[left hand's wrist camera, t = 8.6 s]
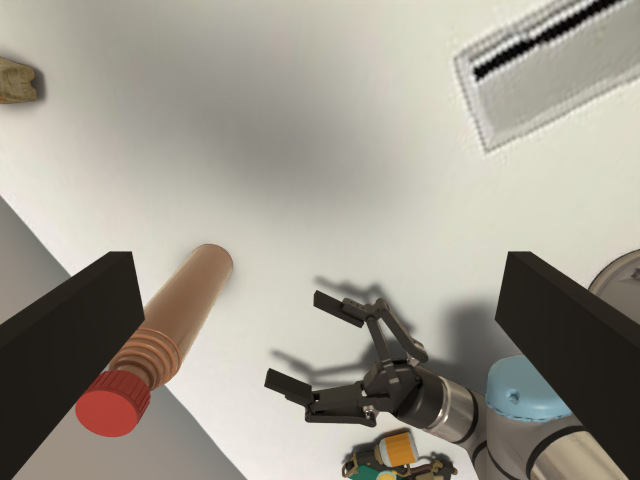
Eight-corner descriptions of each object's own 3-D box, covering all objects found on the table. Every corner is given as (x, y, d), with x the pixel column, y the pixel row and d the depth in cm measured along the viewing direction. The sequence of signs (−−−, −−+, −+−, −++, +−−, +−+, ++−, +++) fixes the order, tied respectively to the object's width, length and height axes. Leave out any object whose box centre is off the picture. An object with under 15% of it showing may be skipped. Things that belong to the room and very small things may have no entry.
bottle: (231, 244, 47) (144, 377, 24) (234, 283, 49) (157, 441, 26) (187, 243, 47) (57, 376, 24) (192, 282, 49) (77, 440, 26)
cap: (146, 368, 25) (131, 390, 23) (155, 414, 27) (142, 438, 25) (87, 368, 25) (67, 390, 23) (99, 413, 27) (82, 437, 25)
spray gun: (459, 464, 62) (390, 498, 66) (406, 414, 56) (333, 454, 60) (469, 490, 58) (395, 525, 62) (413, 438, 52) (335, 480, 56)
